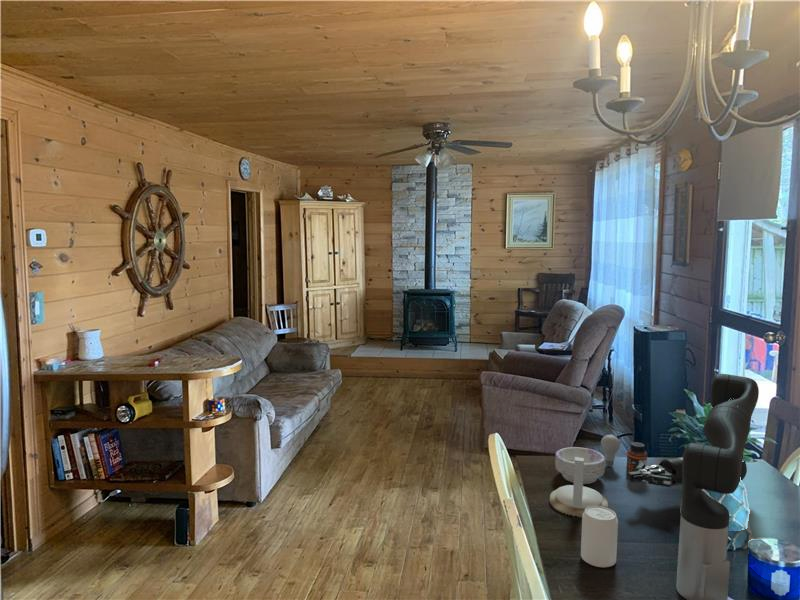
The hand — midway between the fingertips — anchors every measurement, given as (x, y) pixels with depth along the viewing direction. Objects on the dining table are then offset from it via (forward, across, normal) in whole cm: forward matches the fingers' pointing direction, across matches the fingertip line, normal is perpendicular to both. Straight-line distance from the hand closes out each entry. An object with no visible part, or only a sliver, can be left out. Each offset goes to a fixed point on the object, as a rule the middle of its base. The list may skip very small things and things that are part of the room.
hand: (629, 477), depth 166 cm
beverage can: (+24, +22, +9) cm, 33 cm away
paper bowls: (+3, -21, +9) cm, 23 cm away
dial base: (+13, -5, +9) cm, 16 cm away
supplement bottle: (-15, -17, +9) cm, 25 cm away
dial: (+13, -5, +7) cm, 16 cm away
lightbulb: (-12, -27, +9) cm, 31 cm away
